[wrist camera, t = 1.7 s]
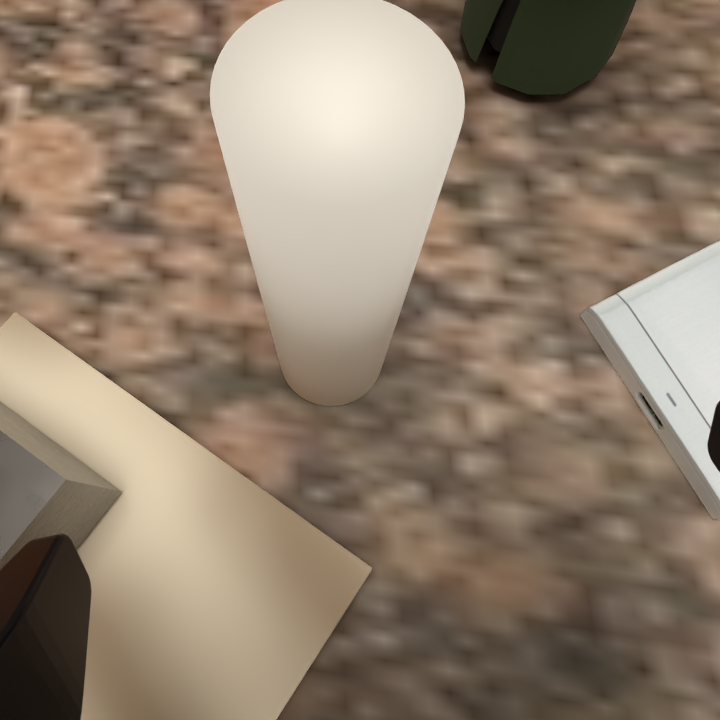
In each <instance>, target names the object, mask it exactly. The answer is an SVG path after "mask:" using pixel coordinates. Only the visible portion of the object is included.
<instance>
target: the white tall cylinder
mask: <svg viewBox="0 0 720 720" xmlns="http://www.w3.org/2000/svg"><path fill="white" fill-rule="evenodd" d="M210 103H211V111H212V116H213V120H214V124H215V128H216V131H217V135H218V139H219V143H220V146H221V150H222V154H223V157H224V161H225V165H226V168H227V172H228V176H229V179H230V183H231V187H232V190H233V194H234V198H235V202H236V205H237V209H238V213H239V216H240V220H241V224H242V227H243V231H244V235H245V238H246V242H247V246H248V250H249V253H250V257H251V261H252V264H253V268H254V272H255V275H256V279H257V283H258V286H259V290H260V294H261V298H262V301H263V305H264V309H265V312H266V316H267V320H268V323H269V327H270V331H271V334H272V338H273V342H274V345H275V349H276V353H277V357H278V360H279V364H280V368H281V371H282V374H283V376H284V378H285V380H286V382H287V383H288V385H289V386H290V387H291V389H292V390H293V391H294V392H295V393H296V394H298V395H299V396H300V397H302V398H303V399H305V400H307V401H309V402H311V403H314V404H318V405H322V406H341V405H345V404H348V403H351V402H353V401H355V400H357V399H359V398H361V397H362V396H363V395H365V394H366V393H367V392H368V391H369V390H370V389H371V388H372V386H373V385H374V384H375V382H376V380H377V379H378V377H379V374H380V372H381V369H382V366H383V363H384V360H385V357H386V354H387V351H388V348H389V345H390V342H391V338H392V335H393V332H394V329H395V326H396V323H397V320H398V317H399V314H400V311H401V308H402V305H403V302H404V299H405V296H406V293H407V290H408V287H409V284H410V281H411V278H412V275H413V272H414V269H415V266H416V263H417V260H418V257H419V254H420V251H421V248H422V245H423V242H424V239H425V236H426V233H427V230H428V227H429V224H430V221H431V218H432V215H433V212H434V209H435V206H436V203H437V200H438V197H439V194H440V191H441V188H442V185H443V182H444V179H445V176H446V173H447V169H448V166H449V163H450V160H451V157H452V154H453V151H454V148H455V145H456V142H457V139H458V136H459V133H460V130H461V126H462V122H463V118H464V109H465V97H464V88H463V83H462V78H461V75H460V72H459V70H458V67H457V64H456V62H455V60H454V59H453V57H452V55H451V53H450V51H449V50H448V49H447V47H446V46H445V44H444V43H443V42H442V40H441V39H440V38H439V37H438V36H437V35H436V34H435V33H434V32H433V31H432V30H431V29H430V28H429V27H428V26H427V25H426V24H424V23H423V22H422V21H421V20H419V19H418V18H416V17H415V16H413V15H412V14H410V13H409V12H407V11H405V10H403V9H401V8H399V7H397V6H395V5H393V4H391V3H388V2H385V1H383V0H284V1H281V2H279V3H276V4H274V5H272V6H270V7H268V8H266V9H264V10H262V11H260V12H259V13H257V14H256V15H255V16H253V17H252V18H250V19H249V20H247V21H246V22H245V23H244V24H243V25H242V26H241V27H240V28H239V29H238V30H237V31H236V32H235V33H234V34H233V35H232V37H231V38H230V39H229V40H228V42H227V43H226V45H225V46H224V48H223V50H222V51H221V53H220V55H219V57H218V60H217V62H216V64H215V67H214V71H213V75H212V79H211V87H210Z"/></svg>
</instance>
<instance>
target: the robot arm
mask: <svg viewBox="0 0 720 720" xmlns="http://www.w3.org/2000/svg"><path fill="white" fill-rule="evenodd" d="M707 448H708V453H709V456H710V458H711V460H712V462H713V464H714V465H715V467H716V468H717V470H718V471H719V472H720V401H719V402H718V403H717V405H716V408H715V412H714V416H713V420H712V425H711V429H710V433H709V438H708V443H707ZM91 594H92V591H91V582H90V578H89V575H88V573H87V571H86V569H85V567H84V564H83V562H82V560H81V558H80V556H79V554H78V552H77V550H76V548H75V546H74V544H73V541H72V540H71V538H70V537H69V536H68V535H67V534H64V533H58V534H53V535H48V536H43V537H38V538H35V539H32V540H30V541H29V542H28V543H27V544H25V545H24V546H23V547H22V548H21V549H20V550H19V551H18V552H17V553H16V554H15V555H14V556H13V557H12V558H11V559H10V560H9V561H8V562H7V563H6V564H5V565H4V566H3V567H2V568H1V569H0V720H81V714H82V705H83V696H84V684H85V671H86V658H87V646H88V633H89V621H90V608H91Z"/></svg>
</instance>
